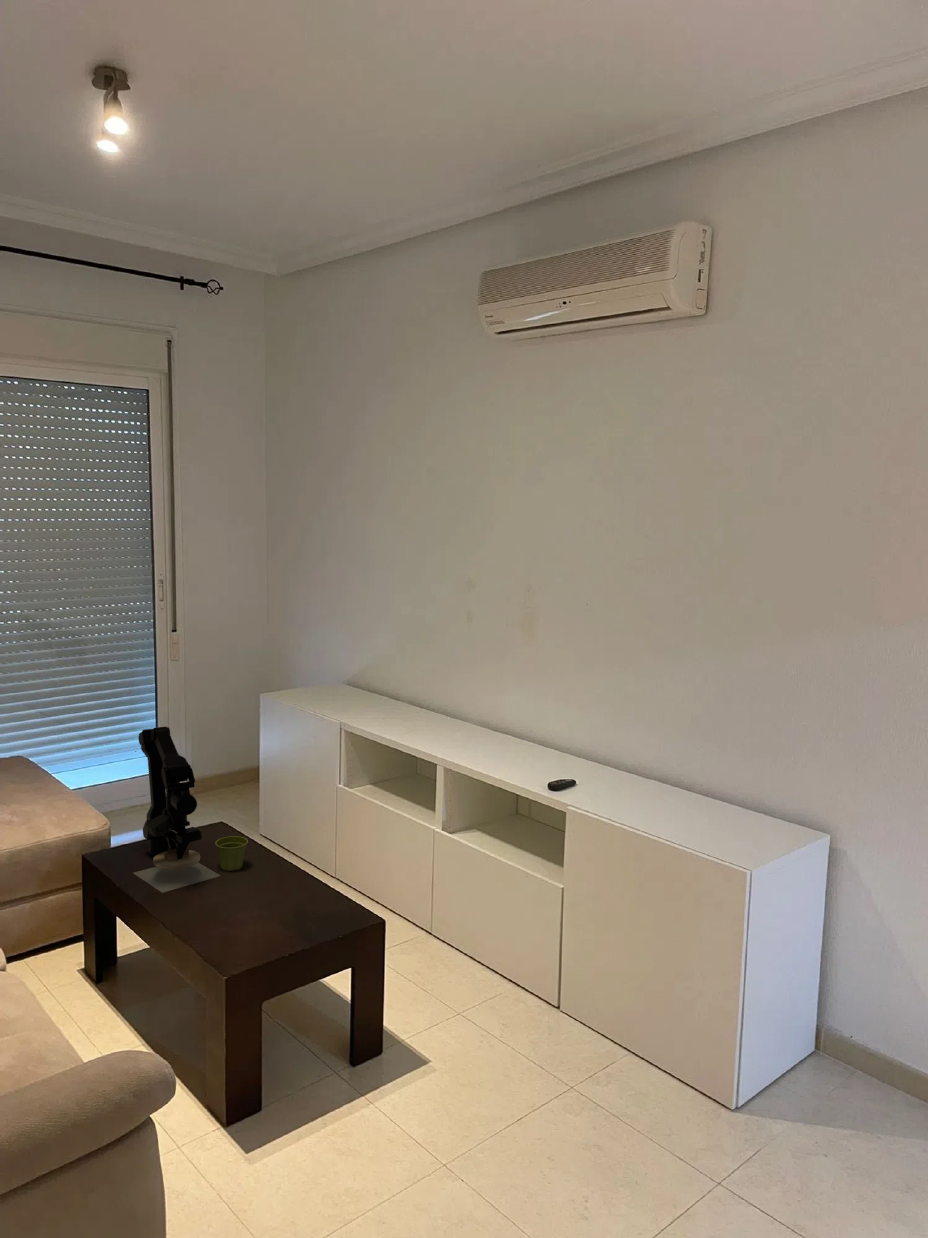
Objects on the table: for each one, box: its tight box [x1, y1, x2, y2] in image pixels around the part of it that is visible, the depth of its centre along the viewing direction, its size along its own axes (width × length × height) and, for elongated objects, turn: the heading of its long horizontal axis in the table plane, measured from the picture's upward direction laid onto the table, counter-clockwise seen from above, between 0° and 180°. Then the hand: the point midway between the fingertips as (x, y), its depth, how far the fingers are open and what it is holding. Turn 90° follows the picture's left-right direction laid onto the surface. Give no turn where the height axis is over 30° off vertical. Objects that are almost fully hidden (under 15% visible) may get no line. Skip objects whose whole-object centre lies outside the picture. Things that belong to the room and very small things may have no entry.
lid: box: [152, 847, 201, 869], centre depth 261 cm, size 13×13×3 cm
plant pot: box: [214, 835, 249, 872], centre depth 269 cm, size 9×9×9 cm
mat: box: [133, 862, 221, 894], centre depth 262 cm, size 18×18×1 cm
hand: (176, 857), depth 261 cm, fingers closed on lid, 3 cm apart
